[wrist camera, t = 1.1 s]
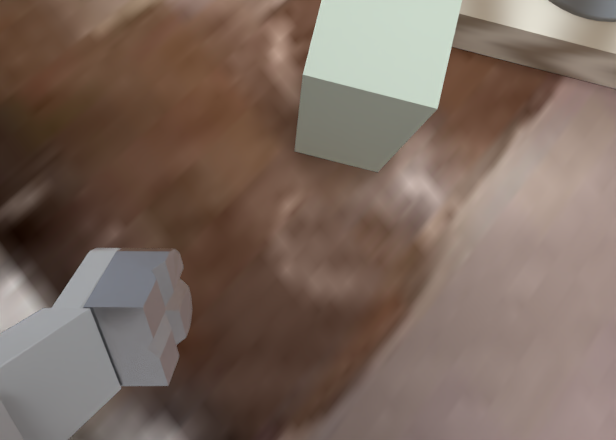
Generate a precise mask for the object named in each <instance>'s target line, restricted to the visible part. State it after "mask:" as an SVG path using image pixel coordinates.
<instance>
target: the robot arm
mask: <svg viewBox="0 0 616 440" xmlns="http://www.w3.org/2000/svg"><path fill="white" fill-rule="evenodd" d="M183 268H184V266H183V263H182V259H181V256H180V253H179V252H178V251H177V250H176V249H166V248H95V249H93V250H91V251H89V253H88V254H87V256H86V257H85V259H84V260H83V261H82V263H81V264H80V266H79V267H78V269H77V270H76V272H75V273H74V275H73V276H72V278H71V279H70V281H69V282H68V284H67V285H66V287H65V288H64V290H63V291H62V293H61V294H60V296H59V297H58V299H57V300H56V302H55V303H54V305H53V306H52V308H42V309H41V310H39V311H37V312H36V313H34V314H32V315H31V316H29V317H27V318H26V319H24V320H22V321H21V322H19V323H17V324H16V325H14V326H12V327H11V328H9V329H7V330H6V331H4V332H2V333H1V334H0V440H68V439H69V438H70V437H71V436H72V435H73V434H74V433H75V432H76V431H77V430H78V429H79V428H80V427H82V426H83V425H84V424H85V423H86V422H87V421H88V420H89V419H90V418H91V417H92V416H93V415H94V414H95V413H96V412H97V411H98V410H99V409H100V408H102V407H103V406H104V405H105V404H106V403H107V402H108V401H109V400H110V399H111V398H112V397H113V396H114V395H115V394H116V393H117V392H118V391H119V390H120V389H121V386H169V383H170V380H171V378H172V375H173V372H174V369H175V367H176V364H177V361H178V359H179V353H178V350H177V346H176V345H177V344H178V343H180V342H181V341H182V340H183V339H185V338H186V337H187V334H188V331H189V328H190V325H191V316H192V299H191V293H190V289H189V286H188V285H187V284H186V283H185V282H183V281H182V280H181V279H180V275H181V273H182V270H183Z"/></svg>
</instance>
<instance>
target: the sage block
mask: <svg viewBox="0 0 616 440" xmlns="http://www.w3.org/2000/svg"><path fill="white" fill-rule="evenodd" d="M461 3H462V0H322V1H321V5H320V9H319V13H318V17H317V21H316V25H315V29H314V33H313V36H312V40H311V44H310V48H309V52H308V56H307V60H306V64H305V68H304V72H303V77H302V87H301V96H300V105H299V114H298V123H297V133H296V142H295V152H299V153H303V154H307V155H311V156H315V157H319V158H323V159H327V160H331V161H334V162H338V163H342V164H346V165H350V166H354V167H358V168H362V169H366V170H370V171H374V172H379V170H380V169H381V168H382V167H383V166H384V165H385V164H386V163H387V162H388V161H389V160H390V159H391V158H392V157H393V156H394V155H395V153H396V152H397V151H398V150H399V149H400V148H401V147H402V146H403V145H404V144H405V143H406V142H407V141H408V140H409V139H410V138H411V136H412V135H413V134H414V133H415V132H416V131H417V130H418V129H419V128H420V127H421V126H422V125H423V124H424V123H425V122H426V121H427V119H428V118H429V117H430V116H431V115H432V114H433V113H434V112H435V111H436V110H437V109H438V104H439V100H440V96H441V91H442V87H443V82H444V78H445V74H446V69H447V65H448V60H449V56H450V52H451V47H452V43H453V38H454V34H455V30H456V25H457V21H458V16H459V12H460V8H461Z"/></svg>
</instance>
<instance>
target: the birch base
mask: <svg viewBox="0 0 616 440" xmlns="http://www.w3.org/2000/svg"><path fill="white" fill-rule="evenodd" d="M452 47H454V48H458V49H462V50H466V51H470V52H474V53H478V54H482V55H486V56H490V57H493V58H497V59H501V60H505V61H509V62H513V63H517V64H521V65H525V66H528V67H532V68H536V69H540V70H544V71H548V72H552V73H556V74H560V75H563V76H567V77H571V78H575V79H579V80H583V81H587V82H591V83H595V84H599V85H602V86H606V87H610V88H614V89H616V0H462V3H461V8H460V12H459V16H458V21H457V25H456V30H455V34H454V38H453V43H452Z"/></svg>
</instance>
